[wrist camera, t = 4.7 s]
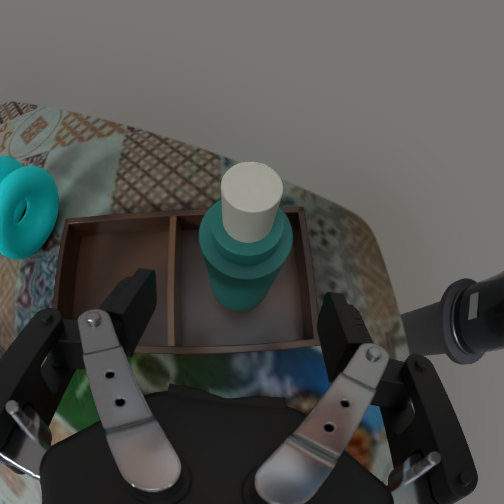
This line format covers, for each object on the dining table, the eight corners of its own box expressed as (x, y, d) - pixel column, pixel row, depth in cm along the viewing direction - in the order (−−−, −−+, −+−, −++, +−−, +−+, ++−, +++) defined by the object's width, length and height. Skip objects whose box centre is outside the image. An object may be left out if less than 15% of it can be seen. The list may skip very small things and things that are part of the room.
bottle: (265, 256, 26) (304, 139, 12) (269, 310, 24) (325, 243, 10) (211, 258, 26) (190, 140, 11) (213, 312, 24) (184, 247, 9)
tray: (295, 224, 28) (303, 206, 25) (309, 346, 24) (321, 345, 21) (80, 233, 26) (65, 218, 23) (70, 347, 22) (51, 344, 19)
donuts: (35, 275, 24) (-22, 241, 15) (-3, 244, 25) (-49, 211, 15) (75, 200, 27) (34, 148, 18) (32, 182, 28) (-4, 138, 19)
